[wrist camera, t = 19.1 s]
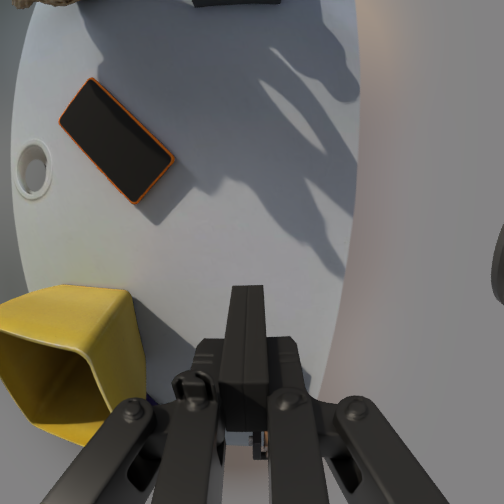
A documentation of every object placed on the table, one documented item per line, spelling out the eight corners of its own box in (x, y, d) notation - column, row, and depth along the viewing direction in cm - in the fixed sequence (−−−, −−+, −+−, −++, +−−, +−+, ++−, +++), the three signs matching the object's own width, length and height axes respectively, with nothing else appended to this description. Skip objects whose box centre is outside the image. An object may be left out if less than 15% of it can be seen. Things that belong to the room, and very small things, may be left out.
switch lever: (284, 449, 37) (285, 462, 35) (253, 450, 37) (253, 463, 35) (292, 428, 30) (293, 445, 28) (252, 429, 30) (252, 446, 28)
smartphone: (93, 76, 26) (89, 75, 25) (178, 158, 30) (176, 159, 29) (58, 122, 27) (55, 122, 27) (136, 206, 31) (133, 207, 31)
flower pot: (169, 378, 41) (142, 465, 25) (73, 361, 41) (30, 425, 25) (150, 269, 34) (87, 351, 18) (43, 263, 34) (-30, 317, 18)
